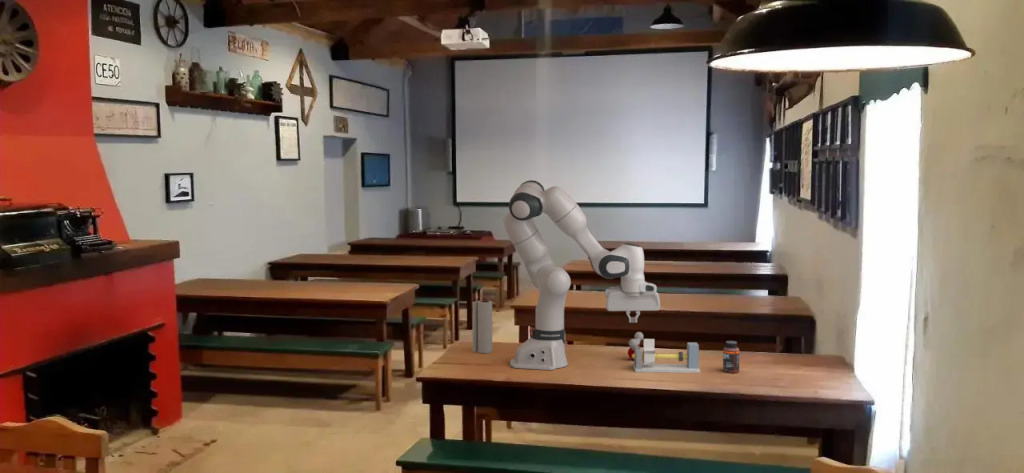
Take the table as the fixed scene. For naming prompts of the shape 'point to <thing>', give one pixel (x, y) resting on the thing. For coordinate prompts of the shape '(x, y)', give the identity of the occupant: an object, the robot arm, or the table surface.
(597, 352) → the table surface
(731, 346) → the supplement bottle
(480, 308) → the grey grooved column
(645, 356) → the marker sleeve
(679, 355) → the cord rig
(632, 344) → the molecular model
